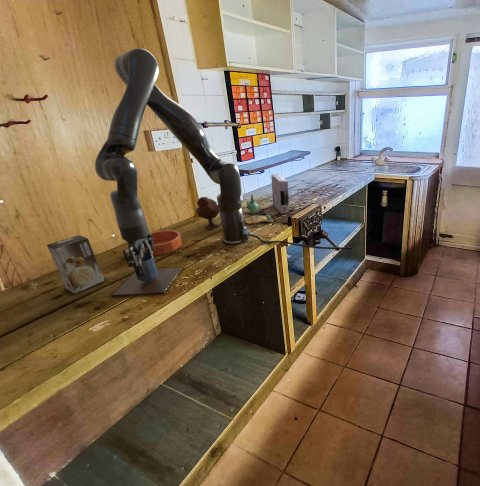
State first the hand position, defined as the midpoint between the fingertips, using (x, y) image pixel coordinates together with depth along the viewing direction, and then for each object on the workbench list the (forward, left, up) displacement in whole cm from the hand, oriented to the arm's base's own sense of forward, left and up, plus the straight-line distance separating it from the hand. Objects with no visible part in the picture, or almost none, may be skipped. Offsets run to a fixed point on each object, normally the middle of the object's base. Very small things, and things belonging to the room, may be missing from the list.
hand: (146, 270), depth 103 cm
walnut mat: (0, 0, -4) cm, 4 cm away
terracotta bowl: (+8, -28, -4) cm, 29 cm away
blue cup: (0, 0, -3) cm, 3 cm away
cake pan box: (-39, -73, -5) cm, 83 cm away
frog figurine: (-28, -54, -5) cm, 61 cm away
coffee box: (+21, 0, -5) cm, 21 cm away
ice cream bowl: (-7, -50, -5) cm, 51 cm away
